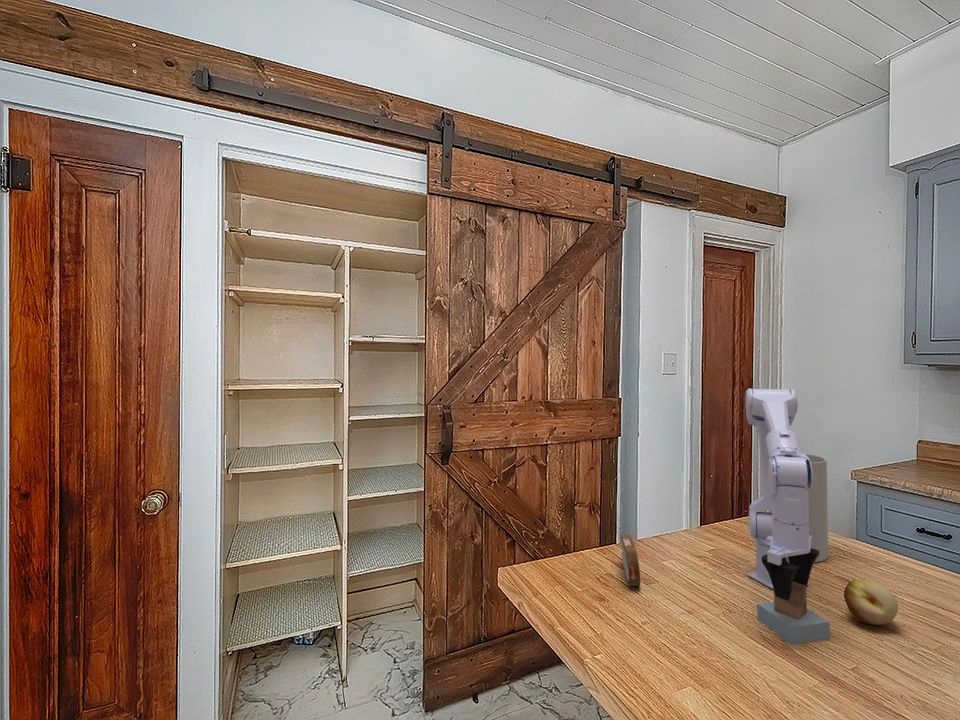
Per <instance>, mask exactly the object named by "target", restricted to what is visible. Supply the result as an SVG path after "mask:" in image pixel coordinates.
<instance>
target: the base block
mask: <svg viewBox="0 0 960 720" xmlns="http://www.w3.org/2000/svg"><path fill="white" fill-rule="evenodd" d="M756 608H757V609H756V610H757V612H756V614H757V615H756V617H757V618H756V619H757V620H758V621H759V622H760V621H761V623H762V624H763V625H764V624H765V625H764V626H766V628H768V629H769V630H771V631H773V633H775V634H776V635H778V637H780V638H782V639H783V640H784V641H786V642H787V643H788V644H790V645H797V644H799V645H800V644H805V643H814V642H820V641H828V640H831V630H830V629H831V627H830V626H831V623H830V621H829V620H827V619H825V618H824V617H822V616H820V615H818V614H817V613H816V612H814V611H812V610H811V609H809V608H808V607H807V613H806V614H804V615H803V616H802V617H801V618H800V619H799V620H797V619H795V618H792V617H790V616H787V615H785V614H782V613H779V612H777V611H774V600H773V601H766V602H758V603H756Z"/></svg>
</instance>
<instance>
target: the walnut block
mask: <svg viewBox="0 0 960 720" xmlns="http://www.w3.org/2000/svg"><path fill="white" fill-rule="evenodd" d="M807 598H808V597H807V587H806V586H805V585H802V584H799V583H796V582H793V583H792V591H791V596H790V599H789V600H788V601H787V600H784V599H782V598H779V597H776V595H775V592H774V591H773V601H774V611H777V612H779V613H782V614H785V615H787V616H790V617H792V618H795V619H797V620H799V619H800V618H801V617H802V616H803V615H804V614H806V613H807V608H808V604H807V602H808V600H807Z"/></svg>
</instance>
